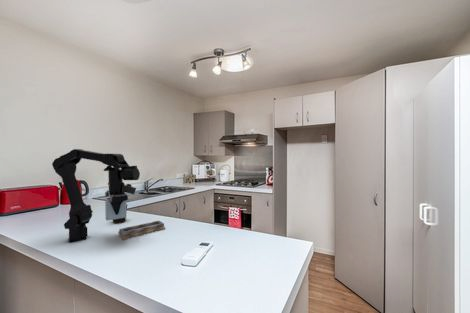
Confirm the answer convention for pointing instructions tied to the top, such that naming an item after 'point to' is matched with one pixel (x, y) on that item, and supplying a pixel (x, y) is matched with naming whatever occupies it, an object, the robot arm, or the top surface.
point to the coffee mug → (120, 219)
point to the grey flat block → (110, 212)
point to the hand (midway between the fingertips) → (116, 213)
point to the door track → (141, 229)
